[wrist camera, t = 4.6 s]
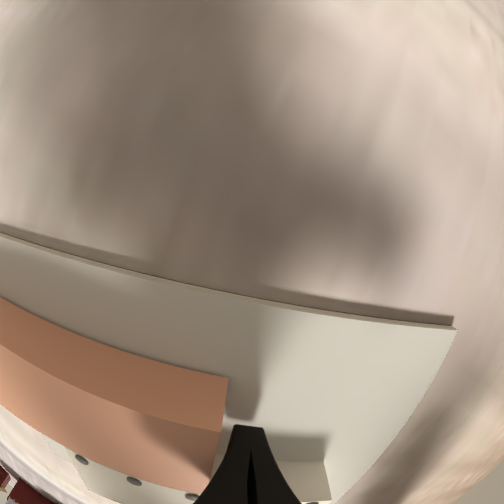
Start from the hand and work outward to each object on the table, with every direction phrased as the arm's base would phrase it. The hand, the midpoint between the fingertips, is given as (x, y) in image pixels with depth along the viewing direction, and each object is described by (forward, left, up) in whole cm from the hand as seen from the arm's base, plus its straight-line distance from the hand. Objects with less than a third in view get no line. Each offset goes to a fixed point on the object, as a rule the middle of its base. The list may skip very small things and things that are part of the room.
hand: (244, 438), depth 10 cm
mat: (-3, +3, -2) cm, 5 cm away
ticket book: (-6, +2, -2) cm, 7 cm away
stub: (0, +8, -2) cm, 8 cm away
